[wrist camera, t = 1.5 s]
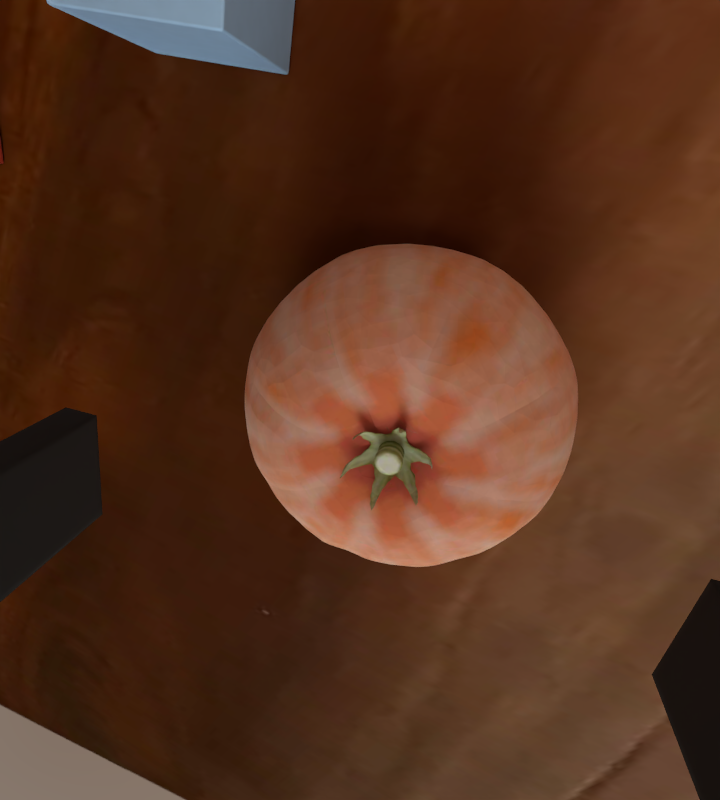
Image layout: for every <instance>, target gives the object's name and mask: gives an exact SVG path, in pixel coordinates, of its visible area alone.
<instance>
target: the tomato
mask: <svg viewBox="0 0 720 800" xmlns="http://www.w3.org/2000/svg"><path fill="white" fill-rule="evenodd" d="M577 413H578V386H577V378H576V373H575V369H574V366H573V363H572V360H571V357H570V354H569V352H568V350H567V348H566V346H565V344H564V342H563V340H562V338H561V336H560V335H559V333H558V331H557V330H556V328H555V326H554V325H553V323H552V322H551V320H550V318H549V317H548V315H547V314H546V313H545V312H544V310H543V309H542V308H541V307H540V305H539V304H538V303H537V302H536V300H535V299H534V298H533V297H532V296H531V295H530V294H529V293H528V292H527V290H526V289H525V288H524V287H523V286H522V285H520V284H519V283H518V282H517V281H515V280H514V279H513V278H512V277H510V276H509V275H508V274H507V273H505V272H504V271H503V270H501V269H499V268H497V267H496V266H494V265H492V264H491V263H489V262H487V261H485V260H483V259H480V258H478V257H475V256H472V255H469V254H466V253H462V252H459V251H455V250H451V249H446V248H441V247H435V246H428V245H418V244H391V245H376V246H372V247H367V248H362V249H358V250H354V251H352V252H349V253H346V254H344V255H342V256H339V257H337V258H336V259H334V260H332V261H331V262H329V263H327V264H326V265H324V266H322V267H321V268H319V269H317V270H316V271H314V272H313V273H312V274H311V275H309V276H308V277H307V278H306V279H304V280H303V281H302V282H301V283H299V284H298V285H297V286H296V287H295V288H294V289H293V290H292V291H291V292H290V293H289V294H288V295H287V296H286V297H285V298H284V299H283V300H282V301H281V302H280V304H279V305H278V306H277V308H276V309H275V310H274V312H273V313H272V314H271V315H270V317H269V318H268V320H267V321H266V323H265V325H264V326H263V328H262V330H261V332H260V333H259V335H258V337H257V339H256V341H255V343H254V346H253V349H252V351H251V355H250V360H249V364H248V370H247V377H246V384H245V415H246V423H247V431H248V437H249V442H250V446H251V450H252V453H253V456H254V460H255V462H256V464H257V466H258V468H259V470H260V471H261V473H262V474H263V476H264V477H265V479H266V480H267V482H268V484H269V485H270V487H271V489H272V491H273V492H274V494H275V496H276V497H277V499H278V500H279V501H280V502H281V503H282V505H283V506H284V507H285V508H286V509H287V511H288V512H289V513H290V514H292V515H293V516H294V517H295V518H296V519H297V520H298V521H299V522H300V523H301V524H302V525H303V526H304V527H305V528H306V529H307V530H309V531H310V532H311V533H313V534H314V535H315V536H317V537H318V538H319V539H321V540H322V541H324V542H326V543H328V544H330V545H333V546H336V547H339V548H342V549H345V550H348V551H350V552H352V553H355V554H357V555H359V556H361V557H363V558H366V559H369V560H372V561H376V562H381V563H386V564H392V565H402V566H412V567H425V566H433V565H438V564H442V563H446V562H449V561H453V560H456V559H460V558H464V557H468V556H472V555H475V554H479V553H481V552H483V551H485V550H487V549H489V548H492V547H493V546H495V545H496V544H498V543H500V542H501V541H503V540H505V539H506V538H508V537H510V536H511V535H513V534H514V533H515V532H516V531H518V530H519V529H520V528H522V527H523V526H524V525H526V524H527V523H528V522H529V521H530V520H532V519H533V518H534V517H535V516H536V515H537V514H538V513H539V512H540V510H541V509H542V508H543V506H544V505H545V504H546V502H547V501H548V500H549V498H550V497H551V495H552V494H553V492H554V490H555V488H556V486H557V484H558V483H559V481H560V479H561V477H562V475H563V473H564V470H565V468H566V465H567V462H568V459H569V456H570V453H571V450H572V445H573V440H574V436H575V430H576V424H577Z"/></svg>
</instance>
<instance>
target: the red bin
mask: <svg viewBox="0 0 720 800" xmlns="http://www.w3.org/2000/svg"><path fill="white" fill-rule="evenodd" d="M3 163H4V161H3V153H2V145H1V137H0V164H3Z"/></svg>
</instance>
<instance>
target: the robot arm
mask: <svg viewBox="0 0 720 800" xmlns="http://www.w3.org/2000/svg"><path fill="white" fill-rule="evenodd" d="M101 515H102V500H101V483H100V467H99V450H98V433H97V417H96V415H92V414H88V413H85V412H81V411H77V410H73V409H70V408H64V409H62V410H60V411H58V412H56V413H54V414H52V415H51V416H49V417H47V418H45V419H43V420H41V421H39V422H37V423H35V424H33V425H31V426H29V427H27V428H26V429H24V430H22V431H20V432H18V433H16V434H14V435H12V436H10V437H8V438H6V439H4V440H2V441H0V602H1V601H2V600H3V599H4V598H5V597H7V596H8V595H9V594H10V593H11V592H12V591H14V590H15V589H16V588H17V587H18V586H19V585H21V584H22V583H23V582H24V581H25V580H26V579H28V578H29V577H30V576H31V575H32V574H33V573H34V572H36V571H37V570H38V569H39V568H40V567H41V566H43V565H44V564H45V563H46V562H47V561H48V560H50V559H51V558H52V557H53V556H54V555H55V554H57V553H58V552H59V551H60V550H61V549H62V548H64V547H65V546H66V545H67V544H68V543H69V542H70V541H72V540H73V539H74V538H75V537H76V536H77V535H79V534H80V533H81V532H82V531H83V530H84V529H86V528H87V527H88V526H89V525H90V524H91V523H93V522H94V521H95V520H96V519H97V518H98V517H100V516H101ZM652 676H653V679H654V681H655V684H656V687H657V689H658V692H659V694H660V697H661V700H662V702H663V705H664V707H665V710H666V713H667V715H668V718H669V721H670V723H671V726H672V728H673V731H674V734H675V736H676V739H677V741H678V744H679V747H680V749H681V752H682V754H683V757H684V760H685V762H686V765H687V767H688V770H689V773H690V775H691V778H692V781H693V783H694V786H695V788H696V791H697V794H698V796H699V799H700V800H720V581H717V580H713V579H711V580H710V582H709V583H708V585H707V587H706V588H705V590H704V591H703V593H702V595H701V596H700V598H699V599H698V601H697V603H696V604H695V606H694V607H693V609H692V611H691V612H690V614H689V616H688V617H687V619H686V620H685V622H684V624H683V625H682V627H681V628H680V630H679V632H678V633H677V635H676V636H675V638H674V640H673V641H672V643H671V645H670V646H669V648H668V649H667V651H666V653H665V654H664V656H663V657H662V659H661V661H660V662H659V664H658V665H657V667H656V669H655V670H654V672H653V674H652Z"/></svg>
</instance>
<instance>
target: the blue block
mask: <svg viewBox="0 0 720 800" xmlns="http://www.w3.org/2000/svg"><path fill="white" fill-rule="evenodd" d="M46 1H47V3H48V4H49V5H50V6H53V7H55V8H57V9H59V10H61V11H64V12H66V13H68V14H70V15H73V16H75V17H77V18H79V19H81V20H84V21H86V22H88V23H90V24H93V25H95V26H97V27H99V28H101V29H104V30H106V31H108V32H110V33H112V34H115V35H117V36H119V37H121V38H124V39H126V40H128V41H130V42H132V43H135V44H137V45H139V46H141V47H144V48H146V49H148V50H150V51H152V52H155V53H158V54H164V55H170V56H176V57H182V58H188V59H194V60H200V61H206V62H212V63H218V64H224V65H230V66H236V67H243V68H249V69H255V70H261V71H267V72H273V73H279V74H285V75H287V74H288V72H289V62H290V51H291V40H292V29H293V18H294V7H295V0H46Z"/></svg>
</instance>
